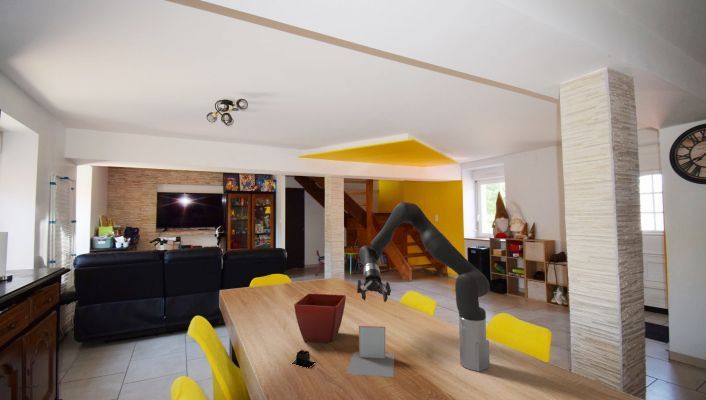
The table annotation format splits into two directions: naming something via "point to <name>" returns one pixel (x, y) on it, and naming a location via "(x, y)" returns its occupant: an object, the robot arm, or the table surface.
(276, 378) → the table surface
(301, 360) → the black blocky piece
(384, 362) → the mat
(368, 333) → the tile
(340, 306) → the plant pot
